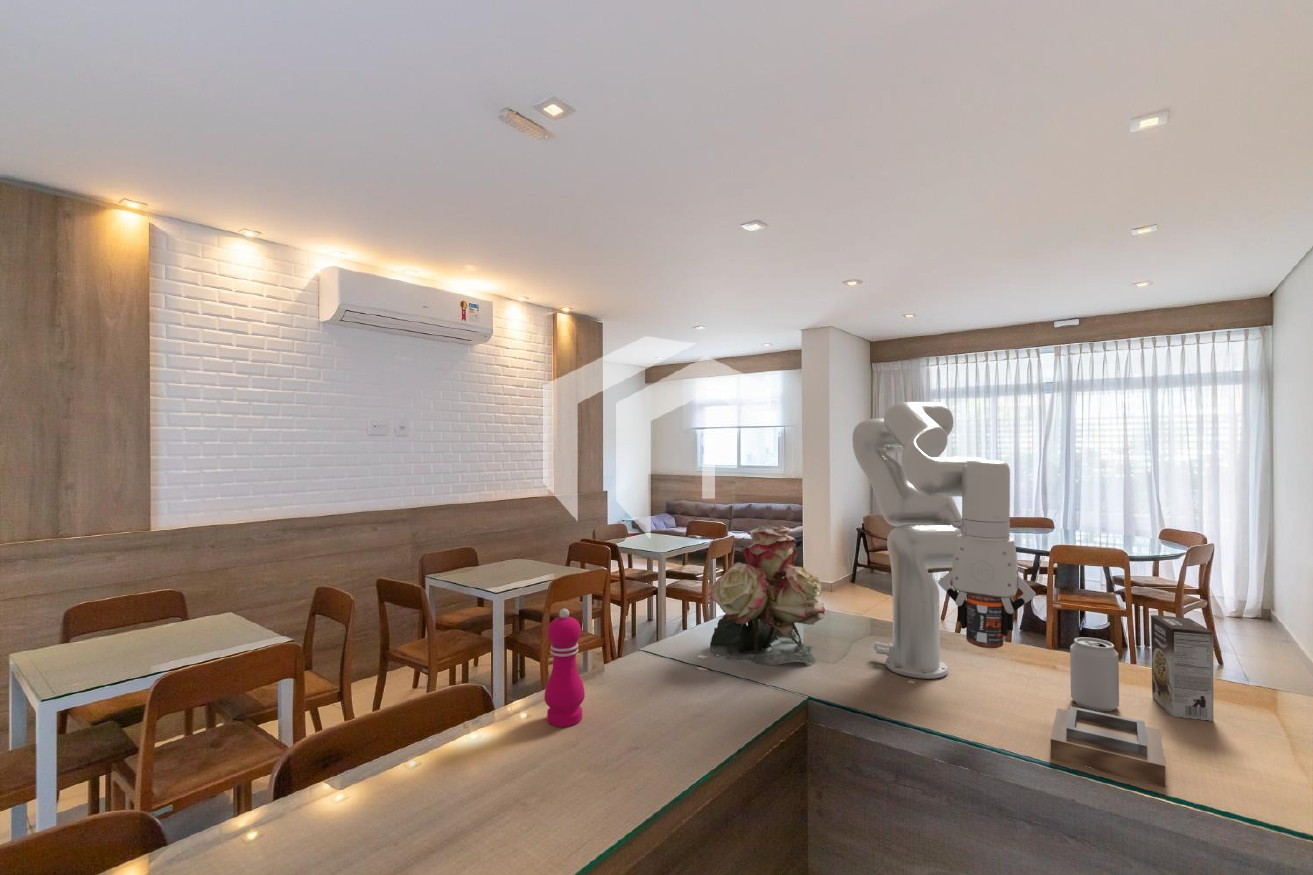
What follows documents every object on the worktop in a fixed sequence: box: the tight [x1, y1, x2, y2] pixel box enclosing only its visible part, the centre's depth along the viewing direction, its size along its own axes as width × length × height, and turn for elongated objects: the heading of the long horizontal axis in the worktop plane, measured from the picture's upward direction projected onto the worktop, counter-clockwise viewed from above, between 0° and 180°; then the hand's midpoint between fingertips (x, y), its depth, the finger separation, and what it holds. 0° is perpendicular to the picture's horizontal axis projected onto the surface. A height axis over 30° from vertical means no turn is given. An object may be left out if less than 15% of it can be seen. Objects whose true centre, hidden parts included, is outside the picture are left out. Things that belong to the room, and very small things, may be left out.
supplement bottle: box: [965, 593, 1005, 649], centre depth 111 cm, size 6×6×11 cm
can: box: [1069, 636, 1120, 713], centre depth 117 cm, size 8×8×12 cm
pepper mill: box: [544, 608, 586, 728], centre depth 112 cm, size 7×7×20 cm
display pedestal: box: [1050, 706, 1167, 788], centre depth 99 cm, size 14×14×4 cm
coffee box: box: [1150, 614, 1215, 722], centre depth 115 cm, size 9×6×16 cm
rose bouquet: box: [709, 524, 826, 666], centre depth 150 cm, size 26×29×30 cm
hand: (984, 629), depth 111 cm, fingers closed on supplement bottle, 5 cm apart
